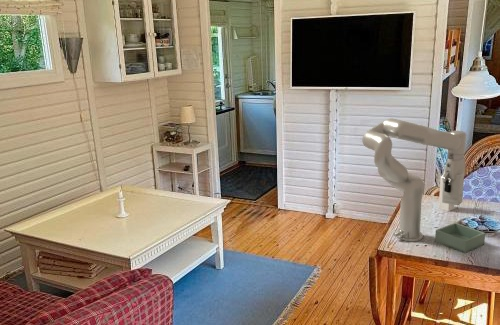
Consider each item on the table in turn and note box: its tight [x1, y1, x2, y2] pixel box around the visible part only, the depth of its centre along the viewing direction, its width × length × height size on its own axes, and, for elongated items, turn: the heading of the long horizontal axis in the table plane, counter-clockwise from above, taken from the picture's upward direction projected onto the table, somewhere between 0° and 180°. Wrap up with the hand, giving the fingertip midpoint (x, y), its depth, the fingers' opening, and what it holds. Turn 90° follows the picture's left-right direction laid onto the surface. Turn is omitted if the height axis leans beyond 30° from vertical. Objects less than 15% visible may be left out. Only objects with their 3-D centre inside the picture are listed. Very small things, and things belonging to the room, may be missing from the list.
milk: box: [438, 170, 455, 212], centre depth 250 cm, size 6×6×22 cm
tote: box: [434, 222, 486, 254], centre depth 211 cm, size 15×16×6 cm
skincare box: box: [442, 172, 465, 206], centre depth 222 cm, size 8×7×16 cm
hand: (452, 190), depth 223 cm, fingers closed on skincare box, 7 cm apart
